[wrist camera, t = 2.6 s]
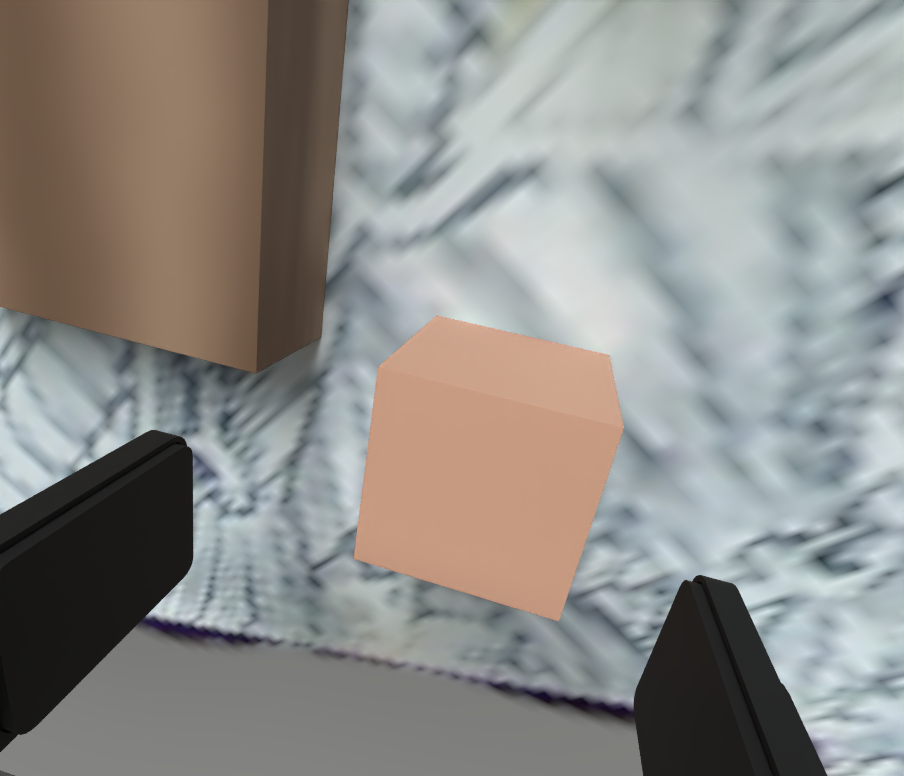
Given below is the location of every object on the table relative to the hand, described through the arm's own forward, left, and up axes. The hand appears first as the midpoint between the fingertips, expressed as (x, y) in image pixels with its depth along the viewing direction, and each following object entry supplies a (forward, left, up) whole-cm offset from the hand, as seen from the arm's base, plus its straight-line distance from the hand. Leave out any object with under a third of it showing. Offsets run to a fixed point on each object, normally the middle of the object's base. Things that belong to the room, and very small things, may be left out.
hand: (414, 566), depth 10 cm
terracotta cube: (-1, 0, -7) cm, 7 cm away
